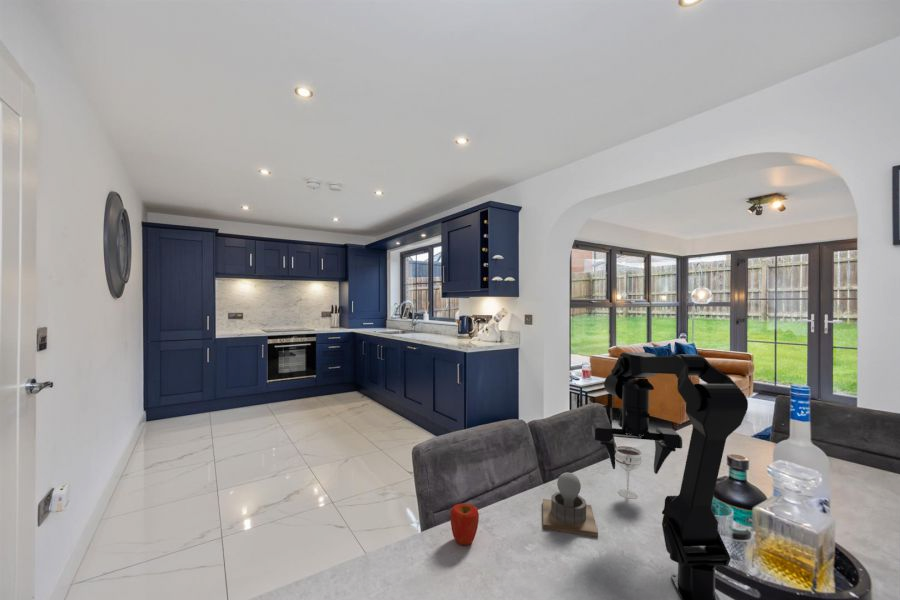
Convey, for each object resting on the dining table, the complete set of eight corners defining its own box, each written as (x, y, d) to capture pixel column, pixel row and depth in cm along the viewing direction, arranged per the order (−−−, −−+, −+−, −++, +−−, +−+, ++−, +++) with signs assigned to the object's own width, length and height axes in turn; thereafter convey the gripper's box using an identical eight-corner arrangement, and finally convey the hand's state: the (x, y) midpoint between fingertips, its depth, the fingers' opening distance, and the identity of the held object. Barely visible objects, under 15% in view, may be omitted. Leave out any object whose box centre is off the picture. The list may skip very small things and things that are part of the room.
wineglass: (634, 503, 100) (634, 457, 101) (609, 492, 106) (610, 449, 106) (645, 495, 105) (646, 451, 105) (621, 485, 110) (622, 444, 110)
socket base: (598, 537, 85) (598, 517, 85) (543, 528, 88) (543, 509, 88) (590, 509, 97) (591, 491, 97) (542, 502, 100) (543, 485, 100)
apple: (471, 529, 87) (471, 497, 87) (483, 546, 82) (483, 511, 82) (445, 535, 85) (446, 501, 85) (456, 552, 79) (456, 516, 79)
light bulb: (581, 522, 89) (582, 479, 89) (557, 519, 90) (558, 477, 90) (578, 509, 95) (579, 469, 95) (556, 507, 96) (556, 467, 96)
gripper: (667, 399, 96) (666, 461, 96) (589, 394, 100) (588, 453, 100) (683, 412, 85) (682, 481, 85) (595, 405, 89) (594, 471, 89)
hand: (634, 470), depth 90 cm, fingers open, 9 cm apart
